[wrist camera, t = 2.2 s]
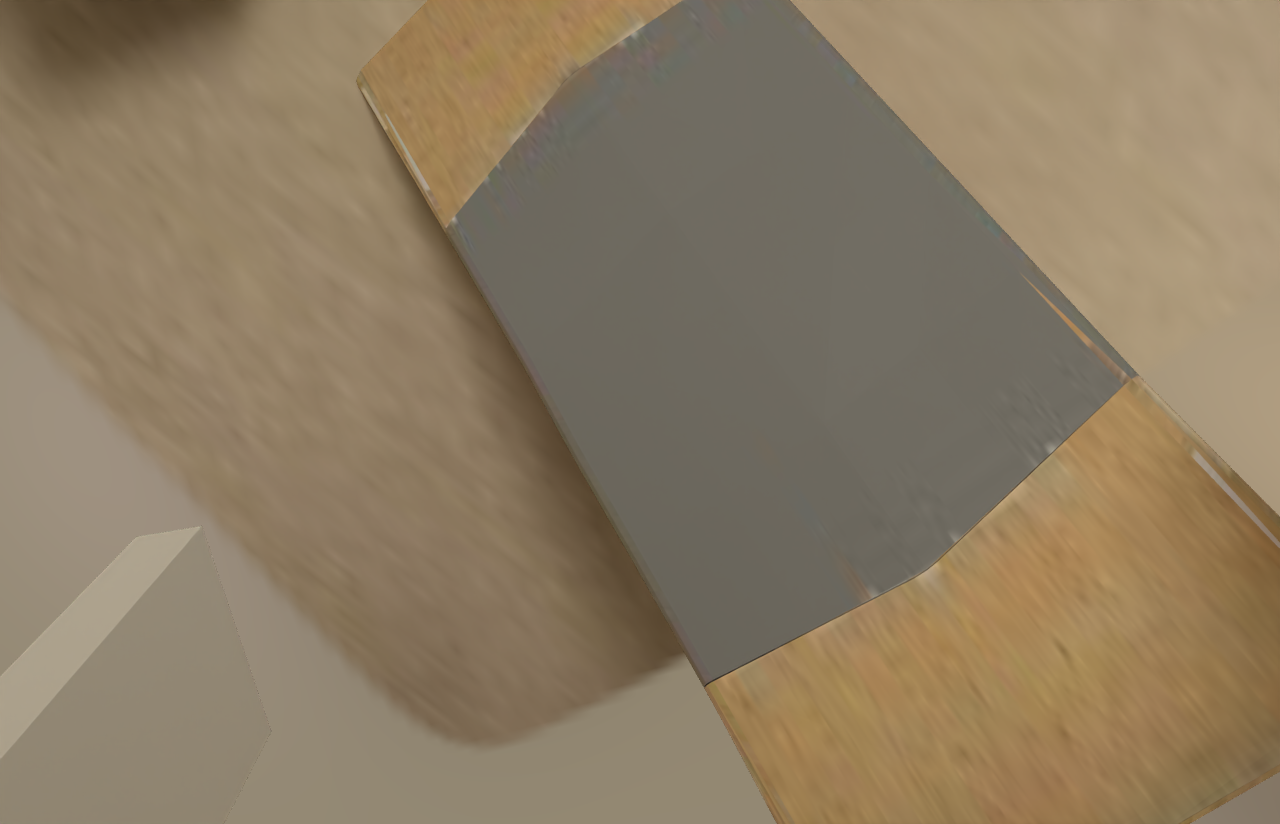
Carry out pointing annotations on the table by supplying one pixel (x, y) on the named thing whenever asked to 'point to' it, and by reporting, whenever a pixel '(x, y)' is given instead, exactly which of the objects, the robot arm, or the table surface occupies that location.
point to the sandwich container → (845, 422)
